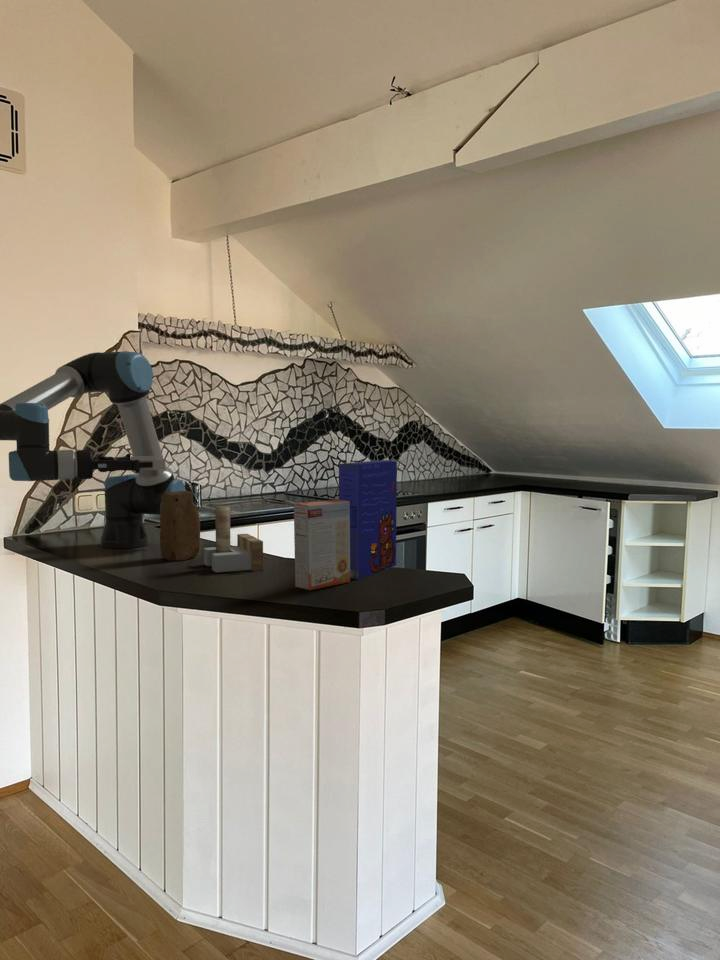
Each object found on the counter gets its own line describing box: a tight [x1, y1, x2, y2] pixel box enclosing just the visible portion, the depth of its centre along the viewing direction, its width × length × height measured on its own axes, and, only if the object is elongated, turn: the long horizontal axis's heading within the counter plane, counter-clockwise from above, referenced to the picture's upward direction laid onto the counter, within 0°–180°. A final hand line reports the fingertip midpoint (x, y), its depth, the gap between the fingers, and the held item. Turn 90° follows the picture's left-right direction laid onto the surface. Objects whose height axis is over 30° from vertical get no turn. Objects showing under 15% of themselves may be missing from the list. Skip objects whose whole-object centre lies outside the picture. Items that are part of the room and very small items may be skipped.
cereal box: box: [338, 459, 398, 580], centre depth 200 cm, size 22×6×30 cm, turn 151°
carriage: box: [203, 545, 252, 573], centre depth 205 cm, size 14×10×4 cm
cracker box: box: [293, 499, 351, 591], centre depth 183 cm, size 14×6×21 cm, turn 134°
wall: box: [236, 533, 264, 572], centre depth 208 cm, size 15×3×8 cm, turn 25°
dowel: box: [214, 505, 231, 553], centre depth 204 cm, size 4×4×17 cm
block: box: [159, 490, 201, 562], centre depth 218 cm, size 11×8×20 cm
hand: (160, 462), depth 197 cm, fingers open, 13 cm apart
